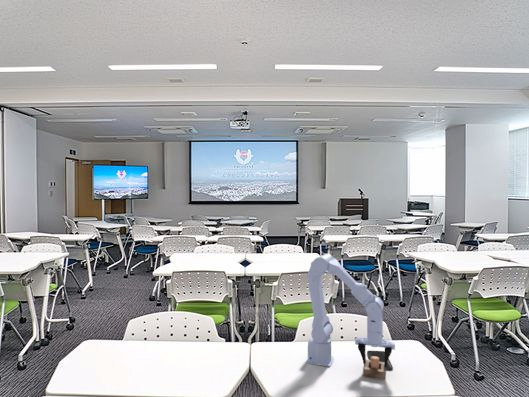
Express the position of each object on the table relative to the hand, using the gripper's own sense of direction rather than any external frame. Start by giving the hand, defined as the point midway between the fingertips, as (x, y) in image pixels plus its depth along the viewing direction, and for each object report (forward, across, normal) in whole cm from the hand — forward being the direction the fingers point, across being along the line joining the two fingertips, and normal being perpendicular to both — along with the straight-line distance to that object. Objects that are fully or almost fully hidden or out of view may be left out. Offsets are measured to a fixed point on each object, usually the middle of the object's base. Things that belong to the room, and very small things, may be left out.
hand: (374, 364), depth 142 cm
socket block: (+3, 0, 0) cm, 3 cm away
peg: (+3, 0, 0) cm, 3 cm away
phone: (+4, +1, +11) cm, 12 cm away
